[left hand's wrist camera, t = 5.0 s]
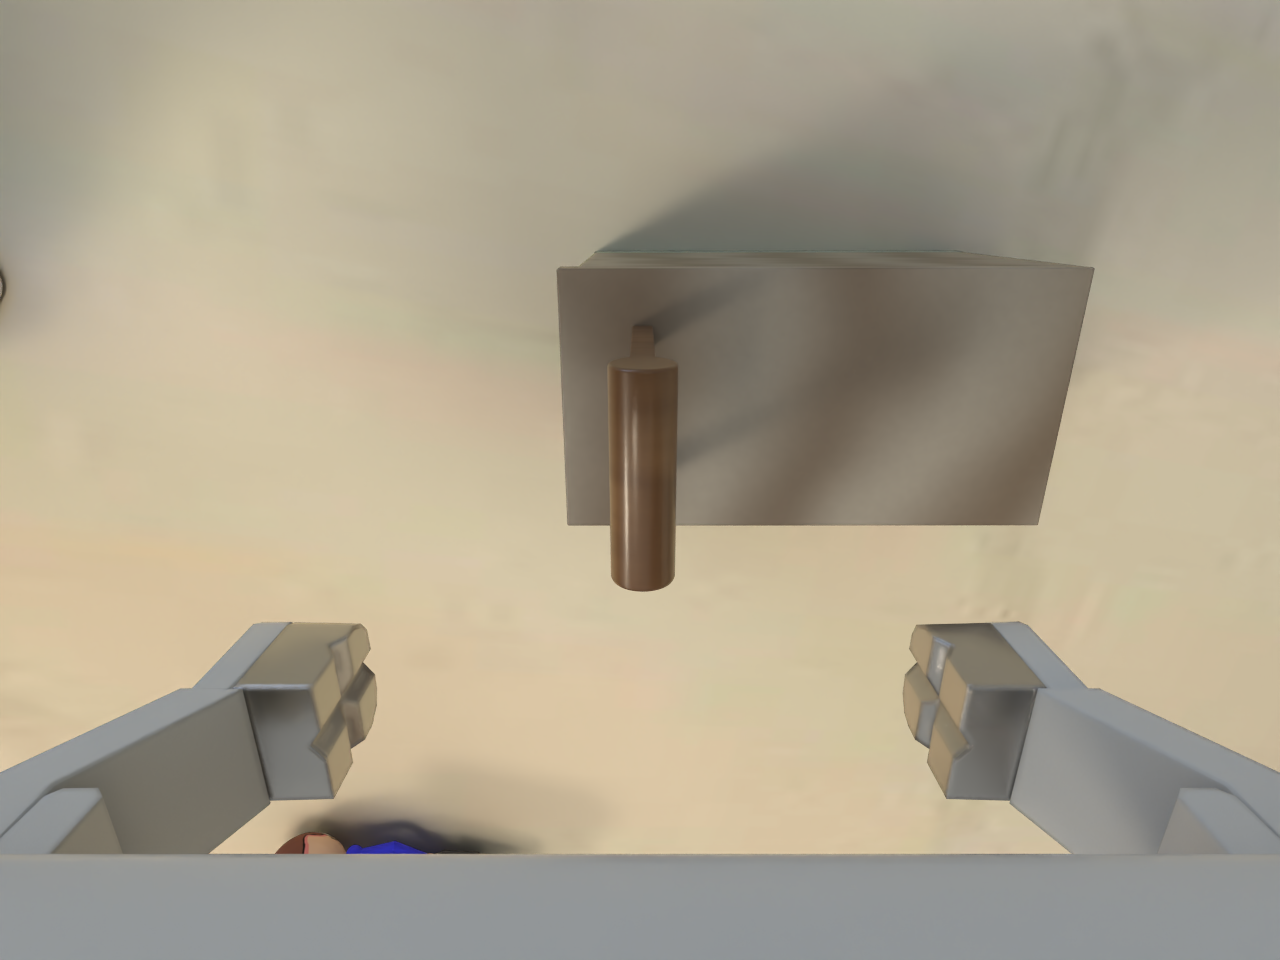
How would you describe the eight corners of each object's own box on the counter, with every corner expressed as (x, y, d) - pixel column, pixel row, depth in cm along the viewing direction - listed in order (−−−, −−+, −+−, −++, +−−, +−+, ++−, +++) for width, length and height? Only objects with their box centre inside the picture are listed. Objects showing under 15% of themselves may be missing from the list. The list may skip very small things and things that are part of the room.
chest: (599, 438, 37) (585, 516, 27) (595, 251, 33) (577, 266, 24) (926, 438, 36) (1025, 515, 27) (955, 251, 33) (1078, 265, 24)
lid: (569, 516, 27) (538, 648, 19) (559, 266, 24) (515, 294, 16) (1025, 516, 27) (1194, 648, 19) (1079, 265, 24) (1312, 292, 15)
